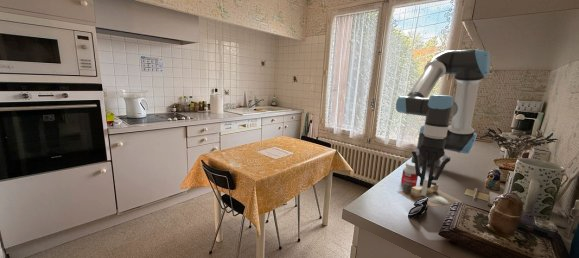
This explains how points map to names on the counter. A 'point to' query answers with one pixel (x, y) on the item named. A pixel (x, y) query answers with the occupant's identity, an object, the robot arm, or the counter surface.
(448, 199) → the board
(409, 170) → the pill bottle
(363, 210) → the counter surface
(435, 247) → the counter surface
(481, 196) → the counter surface
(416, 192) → the leg bar
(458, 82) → the robot arm
